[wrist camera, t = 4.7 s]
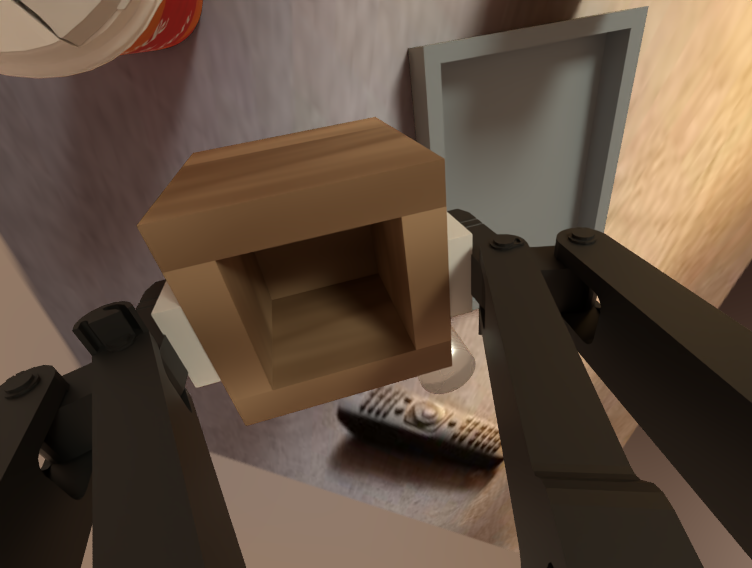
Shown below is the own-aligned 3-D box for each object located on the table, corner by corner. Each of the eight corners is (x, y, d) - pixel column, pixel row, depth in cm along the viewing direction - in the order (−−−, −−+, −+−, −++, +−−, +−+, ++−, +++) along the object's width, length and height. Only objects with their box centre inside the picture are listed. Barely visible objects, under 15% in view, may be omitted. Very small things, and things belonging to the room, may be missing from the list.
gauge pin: (358, 243, 30) (417, 359, 18) (394, 234, 30) (475, 342, 18) (364, 275, 31) (422, 400, 19) (398, 266, 32) (475, 384, 20)
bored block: (193, 152, 14) (136, 225, 8) (375, 116, 15) (444, 158, 9) (253, 303, 18) (245, 426, 12) (395, 267, 18) (452, 365, 13)
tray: (408, 48, 24) (423, 46, 21) (613, 11, 26) (648, 6, 23) (430, 301, 34) (441, 318, 32) (574, 262, 36) (595, 275, 34)
